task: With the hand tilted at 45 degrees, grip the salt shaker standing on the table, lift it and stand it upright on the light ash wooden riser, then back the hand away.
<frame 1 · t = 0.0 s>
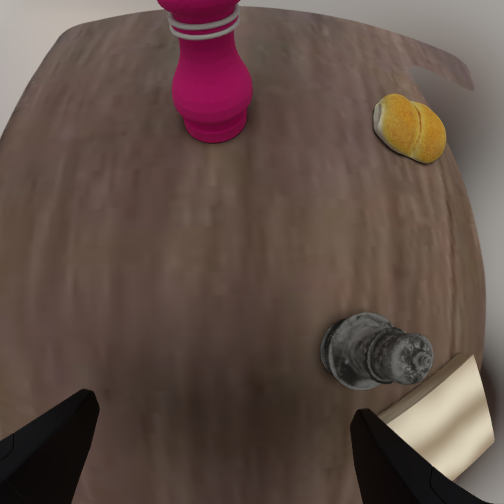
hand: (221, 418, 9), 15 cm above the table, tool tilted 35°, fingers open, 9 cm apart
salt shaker: (349, 348, 24), on the table
pepper mill: (215, 120, 29), on the table
wooden riser: (431, 434, 21), on the table
bread roll: (404, 134, 30), on the table
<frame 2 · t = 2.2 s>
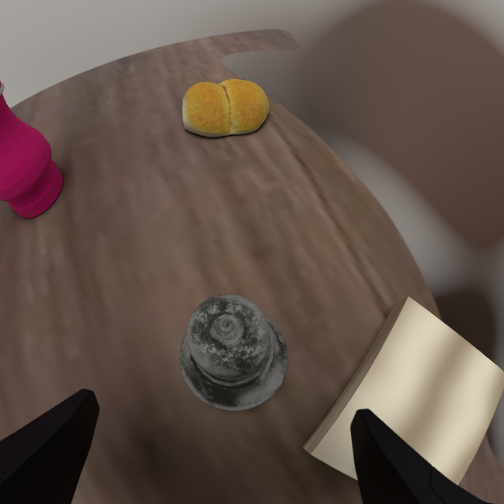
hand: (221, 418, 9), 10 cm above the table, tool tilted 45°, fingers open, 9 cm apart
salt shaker: (234, 364, 19), on the table
pepper mill: (39, 194, 25), on the table
wooden riser: (414, 414, 17), on the table
bread roll: (223, 117, 30), on the table
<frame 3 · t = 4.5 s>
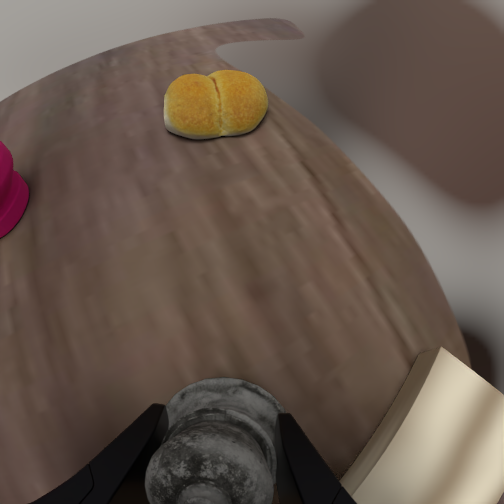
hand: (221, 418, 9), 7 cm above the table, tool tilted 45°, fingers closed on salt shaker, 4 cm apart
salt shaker: (227, 431, 14), on the table, touching gripper
pepper mill: (5, 210, 20), on the table
wooden riser: (434, 472, 12), on the table
bread roll: (213, 115, 25), on the table
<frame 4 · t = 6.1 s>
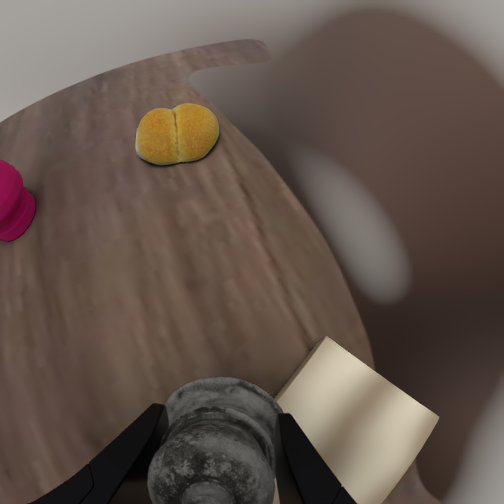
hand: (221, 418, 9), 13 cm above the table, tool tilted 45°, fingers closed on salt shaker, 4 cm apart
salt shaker: (224, 429, 14), point 6 cm above the table, touching gripper
pepper mill: (17, 217, 27), on the table
wooden riser: (331, 444, 19), on the table
bread roll: (177, 142, 31), on the table
when the fingers open (10 cm above the table, at t = 8.0 s): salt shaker drops 1 cm, resting on wooden riser.
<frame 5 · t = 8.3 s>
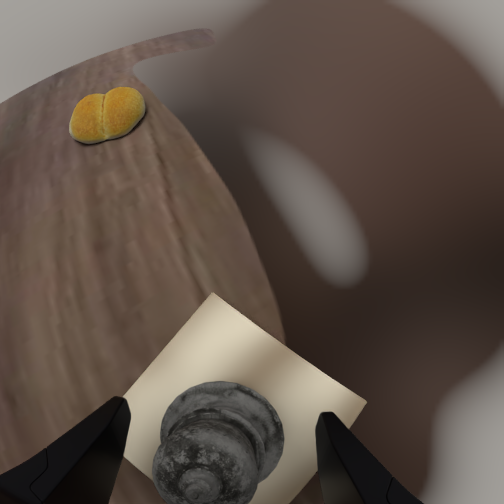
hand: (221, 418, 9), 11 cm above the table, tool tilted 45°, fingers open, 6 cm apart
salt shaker: (225, 430, 15), point 2 cm above the table, touching wooden riser
wooden riser: (230, 423, 18), on the table
bread roll: (109, 124, 30), on the table
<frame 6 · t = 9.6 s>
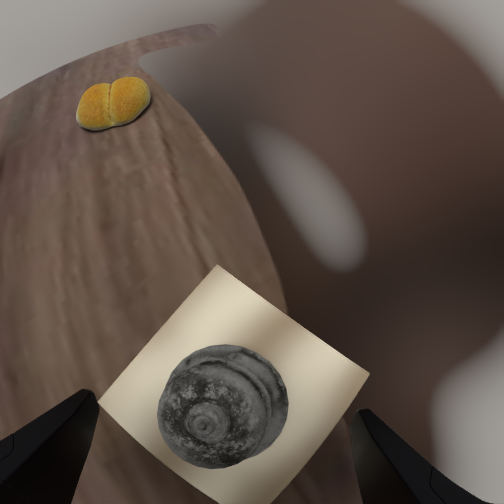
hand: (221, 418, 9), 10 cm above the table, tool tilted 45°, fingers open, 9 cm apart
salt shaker: (228, 401, 16), point 2 cm above the table, touching wooden riser
wooden riser: (233, 397, 18), on the table
bread roll: (115, 112, 31), on the table
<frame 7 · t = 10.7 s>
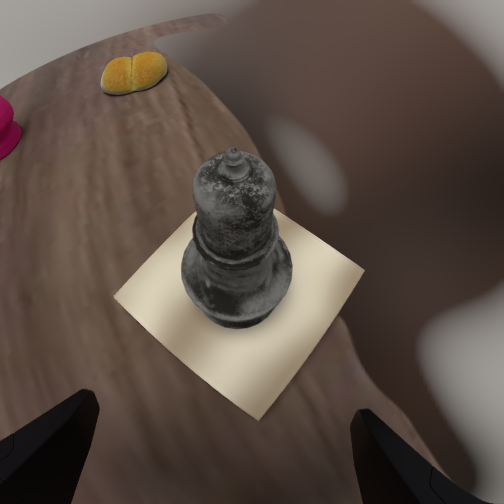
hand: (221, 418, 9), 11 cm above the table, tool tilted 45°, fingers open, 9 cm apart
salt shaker: (237, 289, 19), point 2 cm above the table, touching wooden riser
pepper mill: (5, 145, 29), on the table
wooden riser: (240, 297, 21), on the table
bread roll: (134, 81, 34), on the table
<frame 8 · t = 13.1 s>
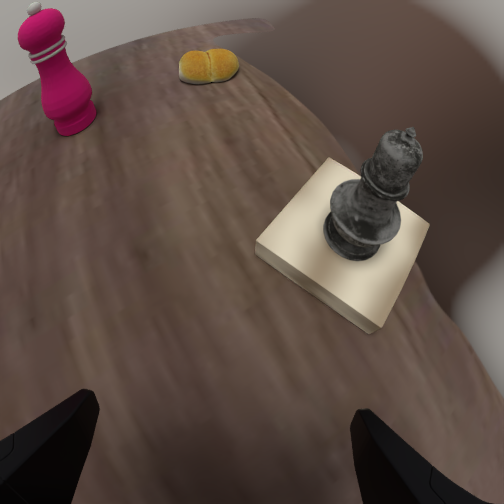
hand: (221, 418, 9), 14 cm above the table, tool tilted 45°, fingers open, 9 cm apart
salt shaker: (352, 233, 25), point 2 cm above the table, touching wooden riser
pepper mill: (77, 122, 35), on the table
wooden riser: (346, 244, 27), on the table
bread roll: (207, 74, 40), on the table
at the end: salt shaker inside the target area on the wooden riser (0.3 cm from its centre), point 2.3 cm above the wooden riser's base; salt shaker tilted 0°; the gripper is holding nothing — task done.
